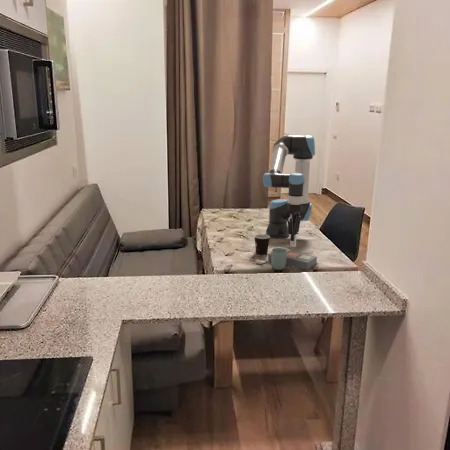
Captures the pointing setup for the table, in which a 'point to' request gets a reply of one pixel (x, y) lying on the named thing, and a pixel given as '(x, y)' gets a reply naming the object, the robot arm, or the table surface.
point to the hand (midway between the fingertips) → (293, 246)
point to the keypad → (299, 261)
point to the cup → (278, 258)
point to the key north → (305, 257)
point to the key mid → (293, 255)
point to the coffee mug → (261, 244)
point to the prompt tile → (260, 261)
